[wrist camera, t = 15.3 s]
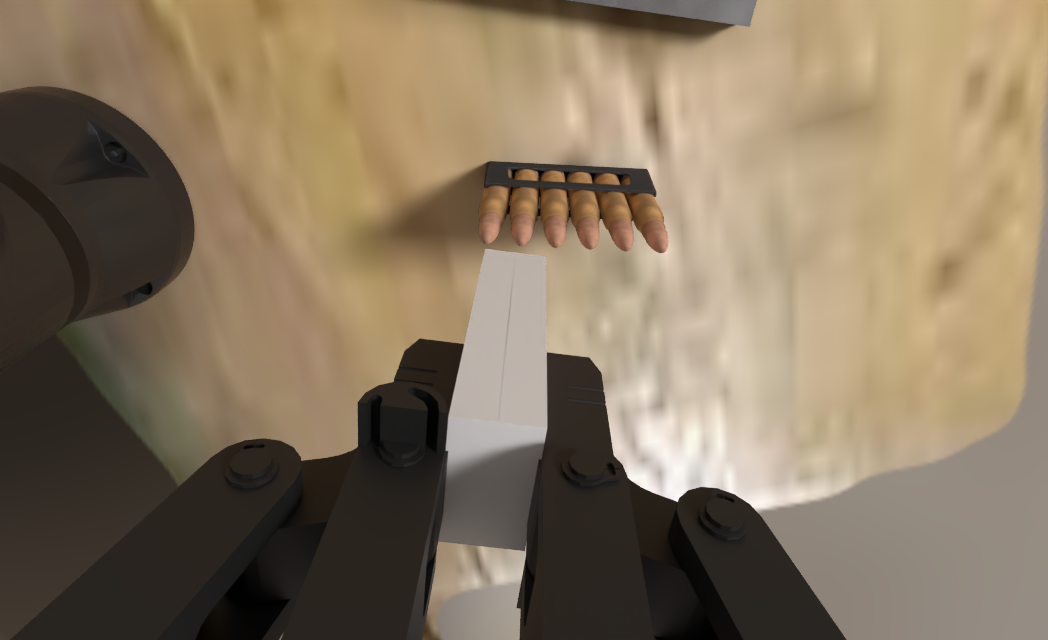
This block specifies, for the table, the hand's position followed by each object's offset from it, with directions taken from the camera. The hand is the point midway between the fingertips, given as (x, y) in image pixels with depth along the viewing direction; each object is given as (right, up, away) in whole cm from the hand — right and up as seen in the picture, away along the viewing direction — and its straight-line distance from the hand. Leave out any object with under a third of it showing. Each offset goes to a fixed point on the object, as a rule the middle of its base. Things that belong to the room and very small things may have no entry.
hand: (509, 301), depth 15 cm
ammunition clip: (+3, +9, +25) cm, 27 cm away
